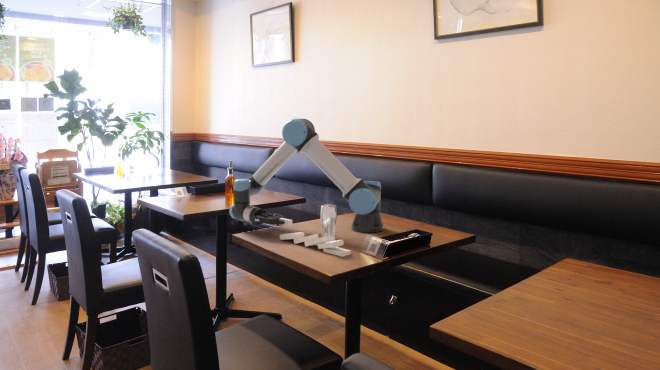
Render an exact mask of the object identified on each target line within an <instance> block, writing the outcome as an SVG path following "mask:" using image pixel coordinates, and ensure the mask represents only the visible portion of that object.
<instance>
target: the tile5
mask: <svg viewBox="0 0 660 370" xmlns="http://www.w3.org/2000/svg"><path fill="white" fill-rule="evenodd" d="M322 252H324V253H327V254H331V255H335V256H338V257H342V258H343V257H346V256H349V255H351V254H352V250H351V249H346V248H342V247H340V246H338V247H333V248H322Z"/></svg>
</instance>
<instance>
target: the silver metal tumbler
mask: <svg viewBox="0 0 660 370" xmlns="http://www.w3.org/2000/svg"><path fill="white" fill-rule="evenodd" d="M337 213H338V212H337V205H335V204H331V203H330V204H328V203H327V204H322V205H321V206H320V223H321V230H322V231H321V233H322V234H321V237H326V236H329V240H330V241H336V236H335V229H336V224H337V217H338V216H337Z"/></svg>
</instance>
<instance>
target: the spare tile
mask: <svg viewBox="0 0 660 370" xmlns="http://www.w3.org/2000/svg"><path fill="white" fill-rule="evenodd" d="M301 237H305V233H304V231H299V232H298V231H297V232H288V233H284V234H279V240H283V241H284V240H294V239H297V238H301Z"/></svg>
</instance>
